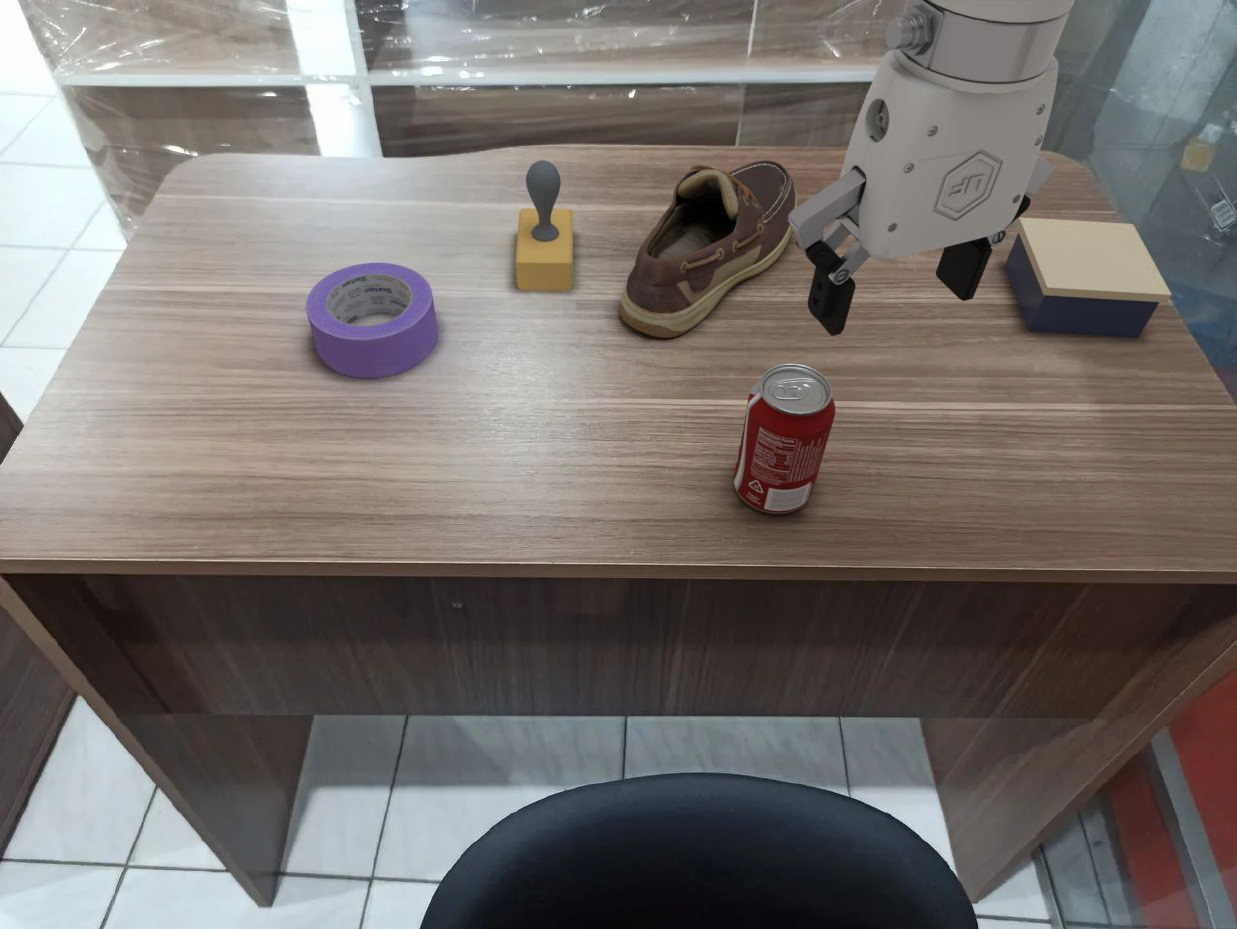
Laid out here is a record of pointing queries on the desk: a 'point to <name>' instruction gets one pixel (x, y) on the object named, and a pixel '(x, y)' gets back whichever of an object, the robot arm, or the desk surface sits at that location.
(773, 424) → the soda can
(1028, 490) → the desk surface
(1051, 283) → the navy box with lid
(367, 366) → the tape roll
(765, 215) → the boat shoe
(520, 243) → the rubber stamp
